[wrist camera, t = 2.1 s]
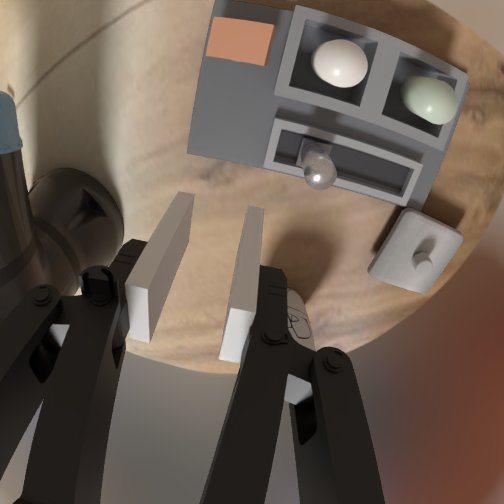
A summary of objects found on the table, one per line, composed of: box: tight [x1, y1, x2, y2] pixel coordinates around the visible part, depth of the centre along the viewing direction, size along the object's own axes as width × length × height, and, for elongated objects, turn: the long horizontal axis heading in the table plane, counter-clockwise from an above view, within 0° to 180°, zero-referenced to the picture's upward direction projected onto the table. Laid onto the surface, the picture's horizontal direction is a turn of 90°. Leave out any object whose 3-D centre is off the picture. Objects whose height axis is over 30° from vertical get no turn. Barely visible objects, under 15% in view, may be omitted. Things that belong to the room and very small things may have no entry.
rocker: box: [205, 17, 276, 66], centre depth 21 cm, size 5×4×1 cm
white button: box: [311, 39, 368, 87], centre depth 20 cm, size 4×4×4 cm
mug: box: [287, 288, 315, 351], centre depth 40 cm, size 11×8×10 cm
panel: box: [187, 0, 470, 212], centre depth 26 cm, size 26×16×6 cm, turn 78°
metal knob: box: [295, 135, 337, 190], centre depth 27 cm, size 3×3×6 cm
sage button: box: [400, 75, 458, 125], centre depth 20 cm, size 4×4×4 cm
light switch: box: [367, 208, 463, 294], centre depth 34 cm, size 10×10×5 cm
